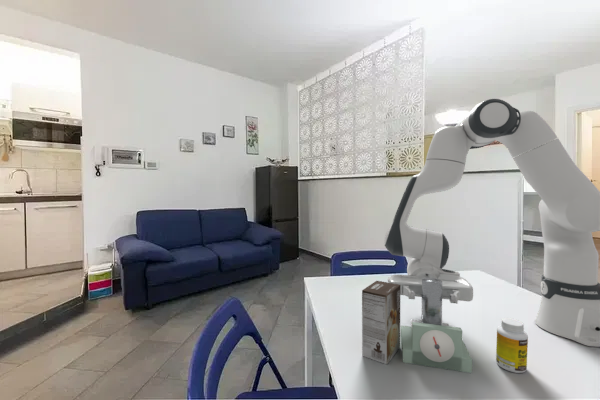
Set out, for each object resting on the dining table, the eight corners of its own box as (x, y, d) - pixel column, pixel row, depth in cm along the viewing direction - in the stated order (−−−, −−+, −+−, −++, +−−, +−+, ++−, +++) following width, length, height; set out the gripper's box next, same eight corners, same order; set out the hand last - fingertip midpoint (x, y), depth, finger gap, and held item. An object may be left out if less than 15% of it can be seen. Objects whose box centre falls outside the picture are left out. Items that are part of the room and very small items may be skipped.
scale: (458, 344, 74) (459, 309, 74) (472, 374, 62) (473, 333, 62) (400, 336, 78) (400, 303, 78) (403, 363, 66) (403, 325, 66)
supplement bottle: (520, 377, 61) (522, 330, 61) (491, 364, 66) (492, 320, 65) (531, 368, 64) (532, 323, 64) (502, 356, 69) (503, 313, 68)
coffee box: (376, 339, 77) (376, 279, 76) (400, 347, 73) (401, 284, 72) (361, 356, 69) (361, 289, 69) (387, 366, 65) (388, 295, 65)
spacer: (440, 325, 74) (440, 278, 73) (443, 334, 69) (443, 284, 69) (420, 323, 75) (420, 277, 75) (422, 331, 71) (422, 282, 70)
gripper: (387, 266, 87) (387, 281, 73) (464, 272, 81) (480, 289, 68) (387, 287, 87) (387, 306, 74) (464, 294, 81) (479, 315, 68)
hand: (432, 298), depth 71 cm, fingers open, 8 cm apart
